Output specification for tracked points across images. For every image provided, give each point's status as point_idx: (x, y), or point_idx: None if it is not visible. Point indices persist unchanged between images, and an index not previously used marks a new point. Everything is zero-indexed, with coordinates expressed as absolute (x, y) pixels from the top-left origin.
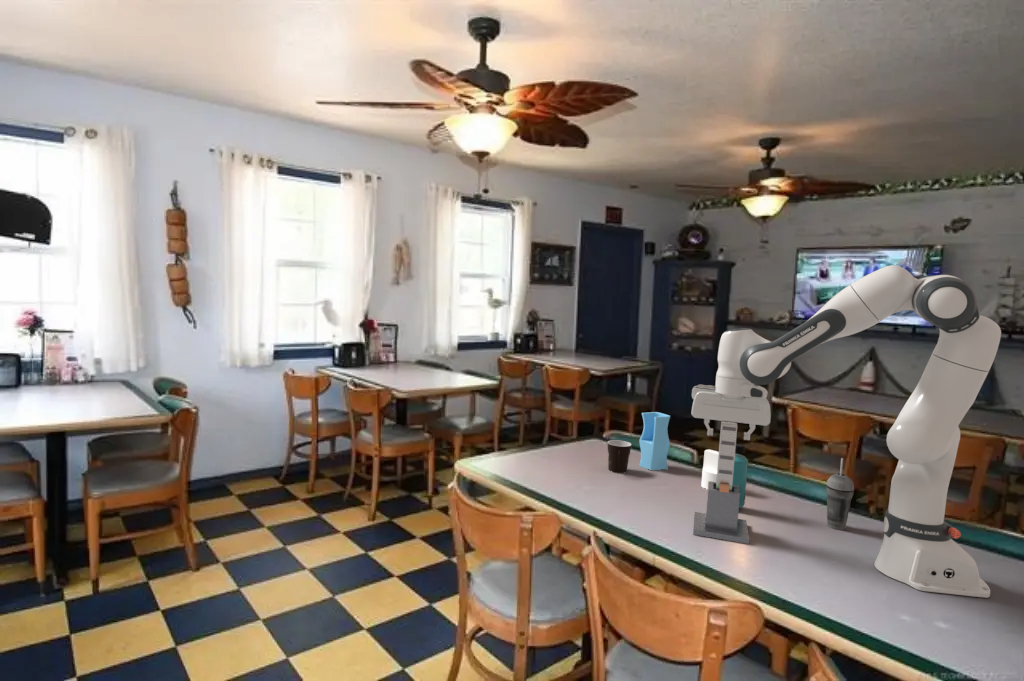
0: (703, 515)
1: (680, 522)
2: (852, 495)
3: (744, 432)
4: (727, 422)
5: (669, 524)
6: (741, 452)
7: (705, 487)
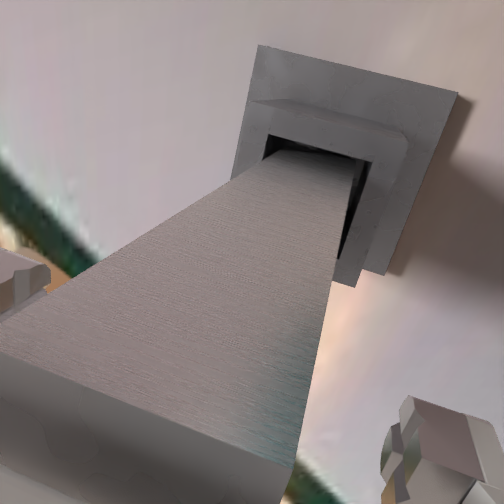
0: (284, 81)
1: (204, 120)
2: None
3: (417, 475)
4: (84, 435)
5: (167, 147)
6: None
7: None
